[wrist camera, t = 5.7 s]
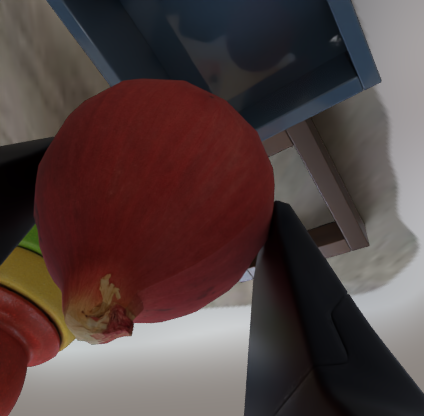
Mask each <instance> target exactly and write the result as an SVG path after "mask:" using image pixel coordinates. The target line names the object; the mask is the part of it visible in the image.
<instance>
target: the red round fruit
mask: <svg viewBox="0 0 424 416" xmlns="http://www.w3.org/2000/svg"><path fill="white" fill-rule="evenodd" d="M274 185H275V184H274V175H273V167H272V165H271V163H270V160H269V158H268V156H267V153H266V151H265V149H264V146H263V144H262V142H261V139H260V137H259V135H258V132H257V131H256V130H255V129H254V128H253V127H252V126H251V125H250V124H249V123H248V122H247V121H246V120H245V119H244V118H243V117H242V116H241V115H240V114H239V113H238V112H237V111H236V110H235V109H234V108H233V107H232V106H231V105H230V104H229V103H228V102H227V101H226V100H224V99H222V98H220V97H218V96H216V95H214V94H212V93H210V92H207V91H205V90H203V89H201V88H199V87H197V86H195V85H193V84H191V83H189V82H187V81H183V80H163V79H133V80H124V81H122V82H120V83H118V84H116V85H114V86H112V87H110V88H108V89H106V90H104V91H103V92H101V93H99V94H97V95H95V96H93V97H91V98H89V99H87V100H85V101H84V102H83V103H82V104H81V105H80V106H79V107H77V108H76V109H75V110H74V111H73V112H72V113H71V114H70V115H69V116H68V117H67V119H66V120H65V122H64V124H63V125H62V127H61V128H60V130H59V131H58V133H57V134H56V136H55V137H54V139H53V141H52V142H51V144H50V145H49V147H48V148H47V150H46V152H45V154H44V156H43V158H42V160H41V162H40V163H39V165H38V171H37V178H36V184H35V200H34V219H35V223H36V227H37V230H38V239H39V247H40V250H41V252H42V255H43V258H44V261H45V264H46V267H47V270H48V272H49V274H50V276H51V278H52V280H53V281H54V283H55V284H56V285H57V286H58V288H59V289H60V290H61V292H62V312H63V315H64V318H65V323H66V325H67V327H68V329H69V330H70V331H71V332H72V334H73V335H74V336H75V337H76V339H77V340H79V341H86V342H88V343H90V344H92V345H94V344H105V343H108V342H110V341H112V340H114V339H116V338H119V337H123V336H132V331H133V327H134V326H133V325H134V323H157V322H163V321H167V320H171V319H174V318H178V317H182V316H185V315H188V314H191V313H193V312H196V311H198V310H199V309H201V308H202V307H204V306H206V305H207V304H209V303H210V302H212V301H213V300H215V299H216V298H218V297H219V296H221V295H222V294H224V293H226V292H227V291H229V290H230V289H231V288H232V287H233V286H234V285H235V284H236V283H237V282H238V281H239V280H240V279H241V278H242V277H243V275H244V273H245V272H246V270H247V269H248V267H249V266H250V264H251V263H252V261H253V260H254V258H255V257H256V255H257V254H258V252H259V251H260V250H261V248H262V247H263V245H264V244H265V243H266V241H267V240H268V237H269V232H270V227H271V222H272V216H273V207H274Z"/></svg>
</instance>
